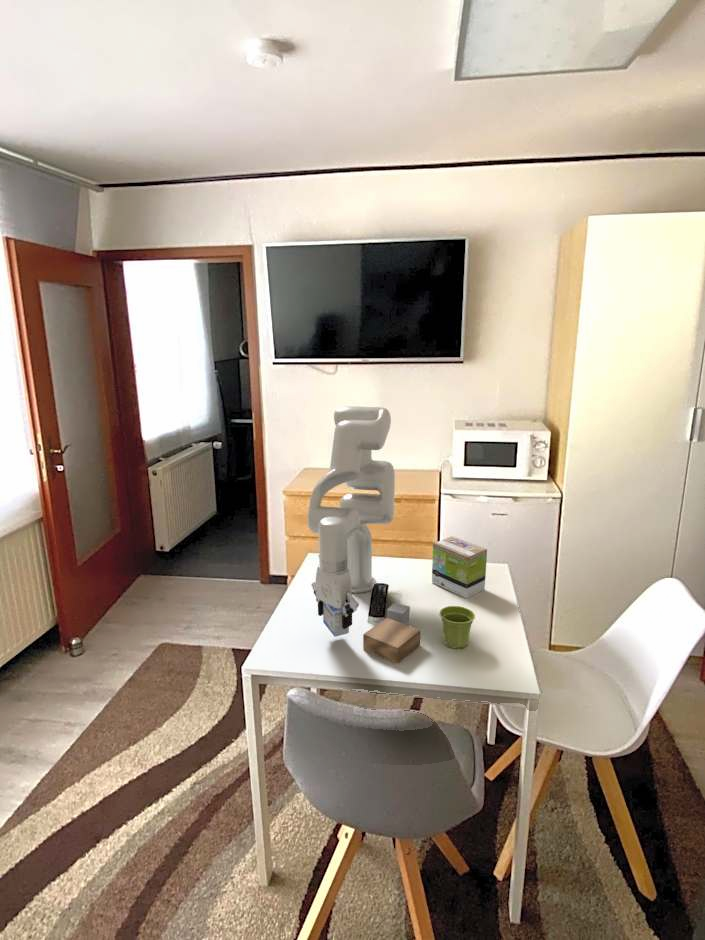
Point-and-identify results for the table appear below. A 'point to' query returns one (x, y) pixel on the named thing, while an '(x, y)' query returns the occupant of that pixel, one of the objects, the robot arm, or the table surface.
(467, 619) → the plant pot
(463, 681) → the table surface
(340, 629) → the medicine box
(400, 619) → the grey cube
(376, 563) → the table surface
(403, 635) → the walnut block
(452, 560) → the tea box
